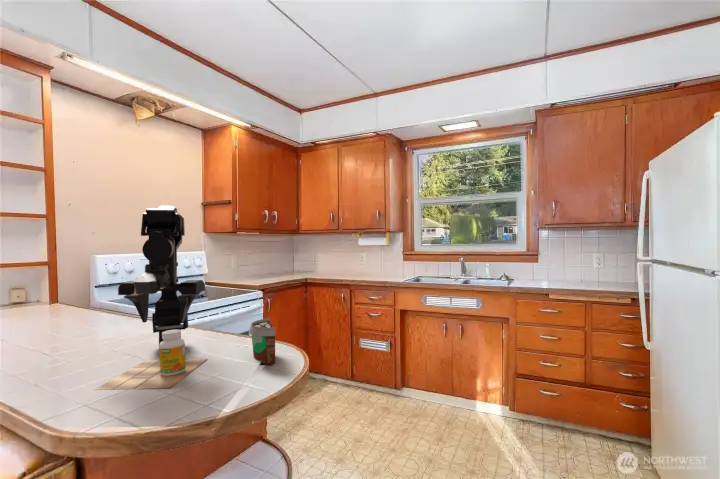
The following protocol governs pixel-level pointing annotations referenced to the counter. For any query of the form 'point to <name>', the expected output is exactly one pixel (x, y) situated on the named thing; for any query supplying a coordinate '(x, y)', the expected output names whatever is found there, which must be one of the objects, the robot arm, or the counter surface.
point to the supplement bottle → (172, 353)
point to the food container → (263, 341)
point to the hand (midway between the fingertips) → (163, 322)
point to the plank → (170, 377)
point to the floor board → (133, 376)
